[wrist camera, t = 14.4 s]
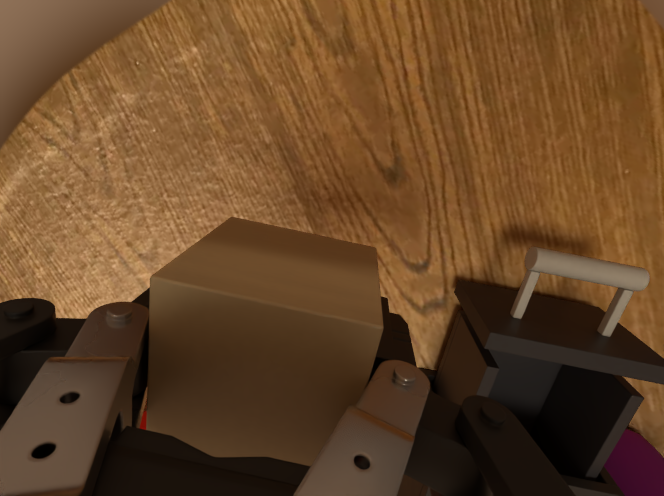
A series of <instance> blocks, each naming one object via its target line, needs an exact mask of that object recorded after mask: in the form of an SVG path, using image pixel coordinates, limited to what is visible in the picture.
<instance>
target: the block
mask: <svg viewBox="0 0 664 496" xmlns="http://www.w3.org/2000/svg"><path fill="white" fill-rule="evenodd" d="M383 329H384V327H383V316H382V305H381V295H380V284H379V273H378V262H377V252H376V248H375V247H371V246H366V245H361V244H357V243H352V242H347V241H343V240H338V239H333V238H329V237H324V236H319V235H315V234H310V233H305V232H301V231H296V230H291V229H287V228H282V227H277V226H273V225H268V224H263V223H259V222H254V221H249V220H245V219H240V218H235V217H230V218H229V219H228V220H226V221H225V222H224V223H222V224H221V225H220V226H218V227H217V228H216V229H214V230H213V231H212V232H210V233H209V234H207V235H206V236H205V237H203V238H202V239H201V240H199V241H198V242H197V243H195V244H194V245H193V246H191V247H190V248H189V249H187V250H186V251H184V252H183V253H182V254H180V255H179V256H178V257H176V258H175V259H174V260H172V261H171V262H170V263H168V264H167V265H166V266H164V267H163V268H161V269H160V270H159V271H157V272H156V273H155V274H153V275H152V276H151V278H150V302H149V341H148V381H147V420H146V430H149V431H153V432H158V433H162V434H167V435H171V436H174V437H176V438H177V439H179V440H181V441H183V442H185V443H187V444H189V445H191V446H193V447H195V448H197V449H199V450H201V451H203V452H205V453H207V454H208V455H211V456H214V457H271V458H275V459H280V460H284V461H289V462H293V463H298V464H302V465H307V466H311V465H312V464H313V462H314V461H315V459H316V457H317V456H318V454H319V452H320V451H321V449H322V448H323V446H324V444H325V443H326V441H327V440H328V438H329V436H330V435H331V433H332V431H333V430H334V428H335V427H336V425H337V423H338V422H339V420H340V418H341V417H342V415H343V414H344V412H345V410H346V409H347V407H348V406H349V405H350V404H352V405H354V406H355V405H356V404H357V402H358V400H359V399H360V397H361V395H362V394H363V392H364V390H365V388H366V387H367V385H368V381H369V378H370V374H371V371H372V367H373V364H374V360H375V357H376V353H377V350H378V346H379V343H380V339H381V336H382V332H383Z"/></svg>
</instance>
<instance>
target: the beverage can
mask: <svg viewBox="0 0 664 496" xmlns="http://www.w3.org/2000/svg"><path fill="white" fill-rule="evenodd" d="M604 467H605V468H606V470H607V471H608V472H609V474H610V475H611V477H612V478H613V480H614V481H615V482H616V484H617V486H618V487H619V488H620V489H621V491H622V492H623V493H624V495H625V496H664V458H663V457H662V456H661V455H660V453H659V452H658V451H657V450H656V449H655V448H654V447H653V446H652V445H651V444H650V443H649V442H648V441H647V440H645V439H644V438H643V437H642V436H641V435H640V434H638V433H635V432H633V431H630V430H628V429H625V431H624V433H623V434H622V436H621V438H620V439H619V441H618V443H617V444H616V446H615V448H614V449H613V451H612V453H611V454H610V456H609V458H608V459H607V461H606V463H605V464H604Z"/></svg>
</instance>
